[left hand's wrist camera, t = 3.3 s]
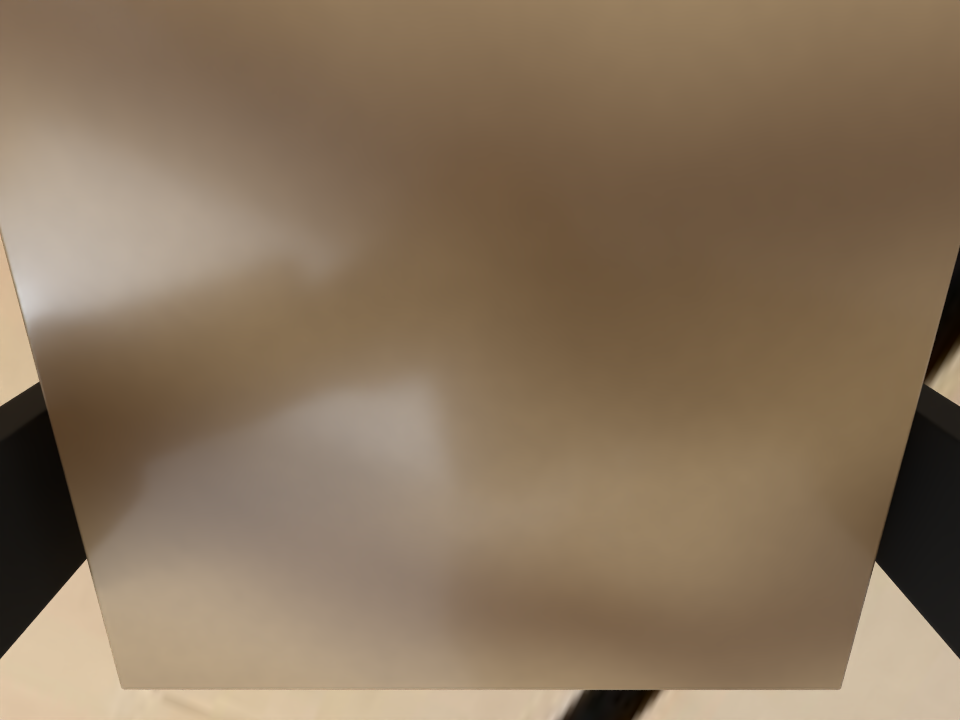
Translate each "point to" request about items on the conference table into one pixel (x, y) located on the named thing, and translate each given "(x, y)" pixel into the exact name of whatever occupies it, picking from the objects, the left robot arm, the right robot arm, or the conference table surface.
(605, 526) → the cabinet
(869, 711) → the conference table surface
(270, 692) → the conference table surface
